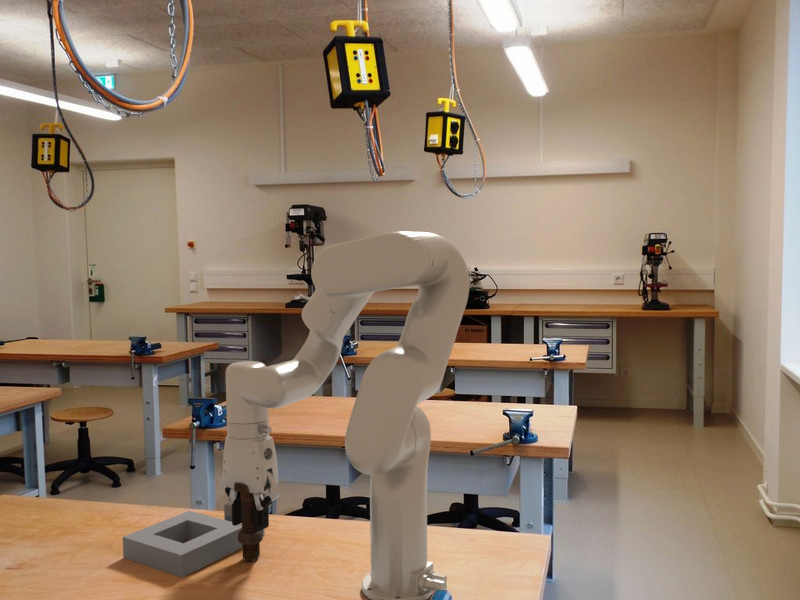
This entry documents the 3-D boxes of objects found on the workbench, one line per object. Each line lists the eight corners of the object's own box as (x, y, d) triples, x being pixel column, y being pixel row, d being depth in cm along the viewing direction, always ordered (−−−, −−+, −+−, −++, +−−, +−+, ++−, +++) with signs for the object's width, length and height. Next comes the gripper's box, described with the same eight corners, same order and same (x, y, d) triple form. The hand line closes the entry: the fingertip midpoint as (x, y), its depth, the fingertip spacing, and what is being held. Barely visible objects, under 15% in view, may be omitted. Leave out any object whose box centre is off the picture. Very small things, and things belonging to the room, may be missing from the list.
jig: (246, 545, 141) (246, 525, 140) (182, 577, 127) (181, 555, 127) (189, 529, 149) (189, 510, 149) (123, 557, 136) (122, 536, 136)
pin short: (242, 527, 150) (242, 503, 150) (232, 532, 148) (231, 508, 147) (232, 524, 152) (231, 501, 152) (221, 529, 149) (220, 505, 149)
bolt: (230, 561, 134) (227, 481, 133) (247, 551, 138) (245, 473, 137) (255, 567, 131) (253, 485, 130) (272, 556, 136) (270, 478, 135)
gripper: (297, 430, 132) (299, 528, 133) (229, 419, 141) (232, 511, 142) (268, 439, 125) (271, 542, 127) (200, 428, 134) (202, 524, 136)
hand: (250, 525), depth 134 cm, fingers open, 4 cm apart
